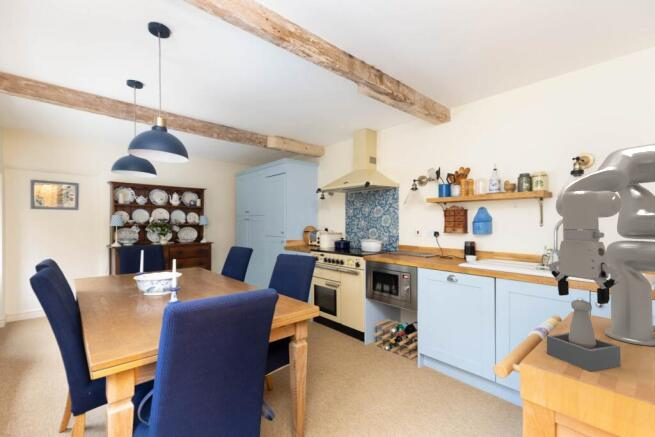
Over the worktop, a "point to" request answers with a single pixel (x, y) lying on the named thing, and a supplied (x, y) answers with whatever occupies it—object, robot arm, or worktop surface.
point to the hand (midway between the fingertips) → (582, 299)
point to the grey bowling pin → (582, 325)
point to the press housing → (584, 353)
